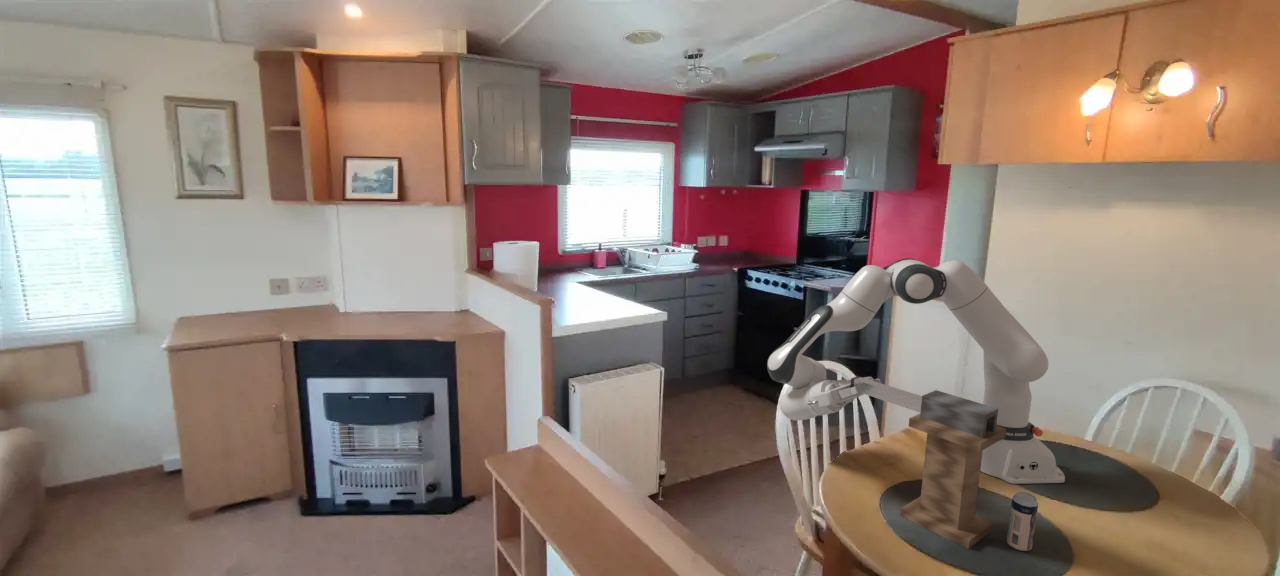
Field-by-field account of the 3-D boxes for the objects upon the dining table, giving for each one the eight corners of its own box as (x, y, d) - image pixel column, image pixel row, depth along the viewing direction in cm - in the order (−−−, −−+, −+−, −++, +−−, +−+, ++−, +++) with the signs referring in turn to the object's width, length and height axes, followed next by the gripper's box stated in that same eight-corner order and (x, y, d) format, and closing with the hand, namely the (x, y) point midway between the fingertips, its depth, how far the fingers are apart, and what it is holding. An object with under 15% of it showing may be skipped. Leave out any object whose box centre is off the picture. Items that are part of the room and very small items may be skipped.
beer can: (1035, 554, 130) (1042, 503, 128) (1011, 551, 131) (1018, 501, 129) (1026, 540, 135) (1033, 492, 132) (1002, 538, 136) (1009, 489, 133)
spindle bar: (850, 389, 157) (850, 378, 156) (856, 386, 159) (857, 376, 158) (932, 416, 140) (933, 404, 139) (938, 413, 141) (940, 401, 141)
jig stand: (900, 515, 144) (911, 397, 139) (926, 499, 151) (938, 386, 146) (968, 548, 132) (983, 420, 126) (993, 529, 139) (1009, 407, 133)
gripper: (799, 394, 160) (839, 382, 149) (845, 378, 172) (885, 366, 161) (807, 417, 158) (848, 406, 147) (853, 400, 170) (895, 389, 159)
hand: (868, 385), depth 154 cm, fingers open, 8 cm apart
